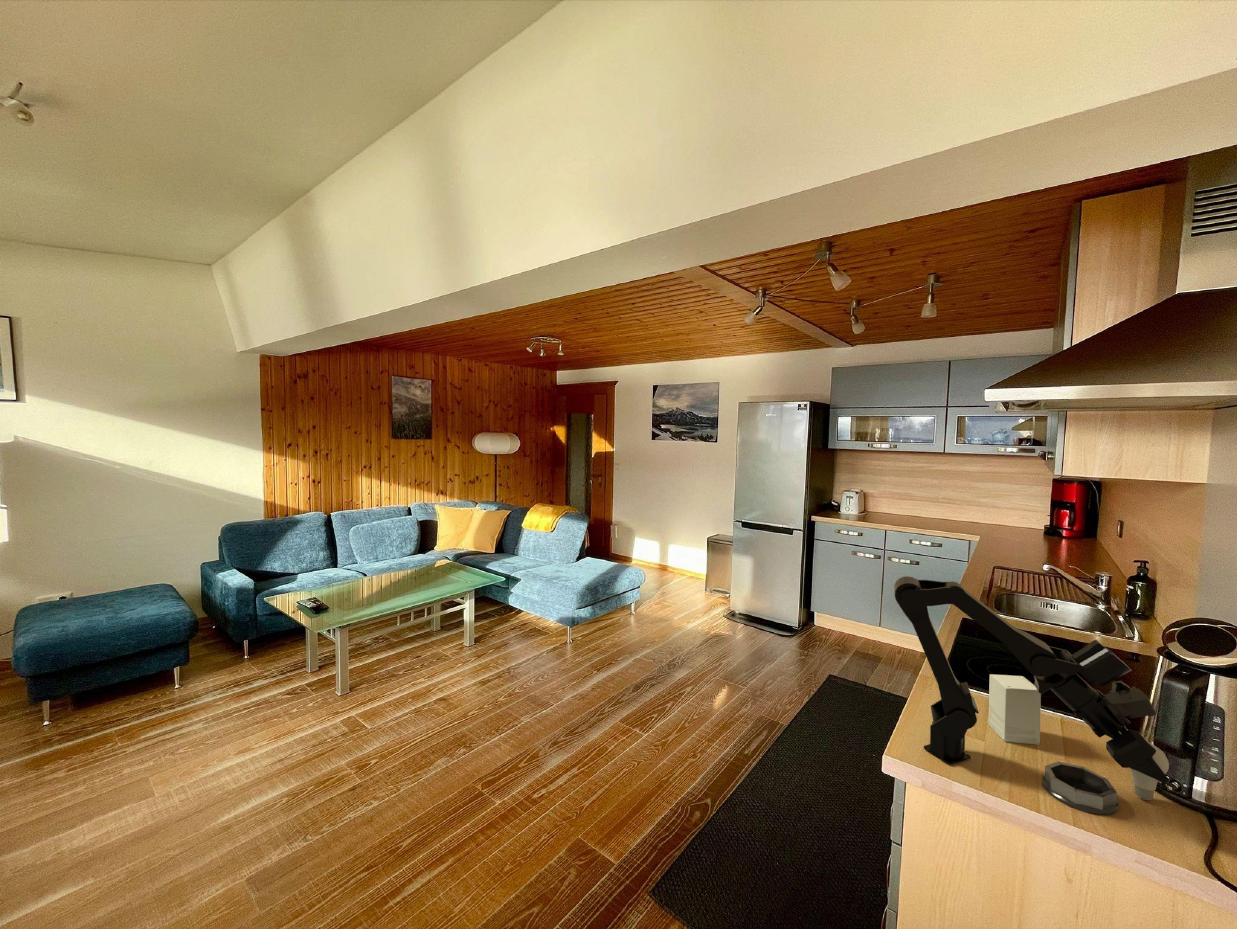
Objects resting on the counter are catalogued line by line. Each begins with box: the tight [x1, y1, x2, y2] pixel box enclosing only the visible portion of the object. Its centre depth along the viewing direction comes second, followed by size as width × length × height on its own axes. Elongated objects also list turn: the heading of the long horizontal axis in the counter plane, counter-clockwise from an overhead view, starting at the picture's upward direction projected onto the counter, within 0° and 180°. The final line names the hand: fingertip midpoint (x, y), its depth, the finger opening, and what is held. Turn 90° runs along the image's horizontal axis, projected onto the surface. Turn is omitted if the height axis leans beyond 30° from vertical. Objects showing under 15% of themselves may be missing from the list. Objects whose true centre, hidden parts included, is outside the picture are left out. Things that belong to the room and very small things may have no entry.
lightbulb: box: [1129, 743, 1170, 801], centre depth 98 cm, size 6×6×11 cm
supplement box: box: [988, 673, 1042, 746], centre depth 119 cm, size 7×7×13 cm
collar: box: [1041, 761, 1119, 816], centre depth 99 cm, size 11×11×3 cm
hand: (1154, 766), depth 97 cm, fingers open, 9 cm apart
